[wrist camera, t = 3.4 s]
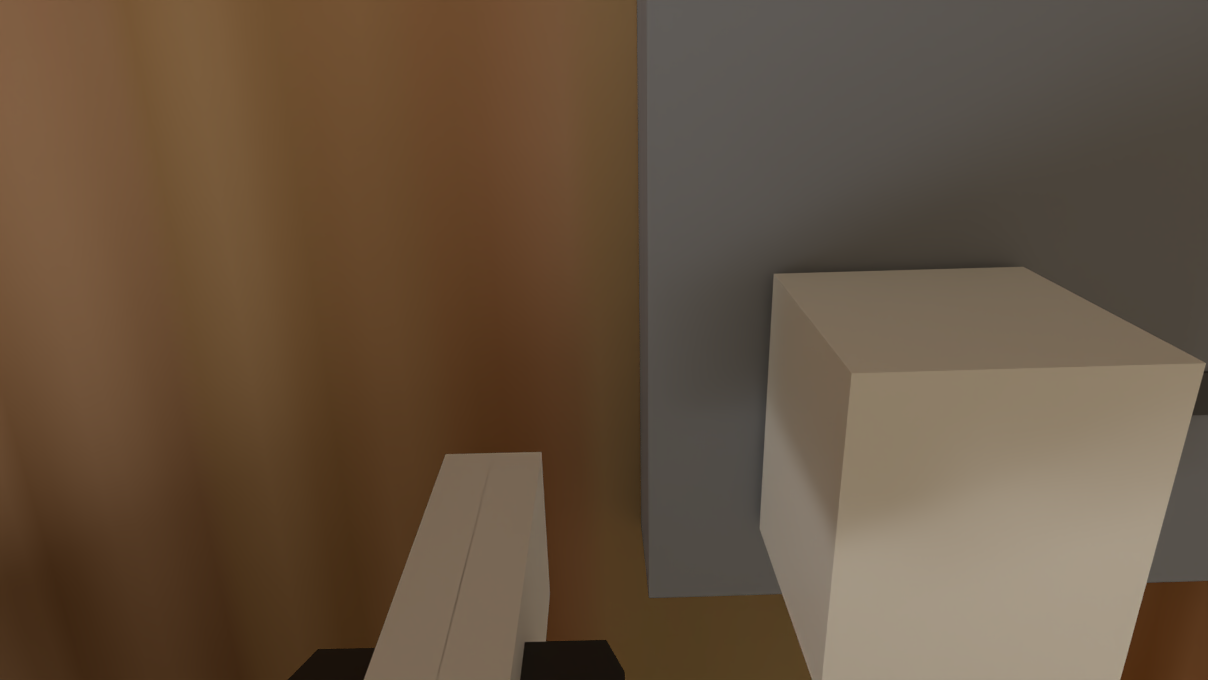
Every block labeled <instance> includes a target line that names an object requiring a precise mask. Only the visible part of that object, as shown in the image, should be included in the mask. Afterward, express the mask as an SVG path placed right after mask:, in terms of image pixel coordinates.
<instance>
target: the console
mask: <svg viewBox="0 0 1208 680" xmlns="http://www.w3.org/2000/svg"><path fill="white" fill-rule="evenodd" d="M637 61H638V186H639V310H640V434H641V528H642V537H643V546H644V556H645V565H646V575H647V584H648V593H649V598H669V597H701V596H733V595H765V594H782V592H781V589H780V586H779V583H778V580H777V578H776V575H775V572H774V569H773V566H772V563H771V560H770V557H769V554H768V552H767V549H766V546H765V543H764V540H763V537H762V534H761V531H760V511H761V493H762V475H763V457H764V439H765V421H766V403H767V385H768V367H769V349H770V331H771V313H772V295H773V277H774V274H780V273H816V272H851V271H887V270H923V269H959V268H995V267H1025V268H1027V269H1029V270H1030V271H1032V272H1034V273H1036V274H1038V275H1040V276H1042V277H1044V278H1046V279H1047V280H1049V281H1051V282H1053V283H1055V284H1057V285H1059V286H1061V287H1063V288H1065V289H1066V290H1068V291H1070V292H1072V293H1074V294H1076V295H1078V296H1080V297H1082V298H1084V299H1085V300H1087V301H1089V302H1091V303H1093V304H1095V305H1097V306H1099V307H1101V308H1102V309H1104V310H1106V311H1108V312H1110V313H1112V314H1114V315H1116V316H1118V317H1120V318H1121V319H1123V320H1125V321H1127V322H1129V323H1131V324H1133V325H1135V326H1137V327H1138V328H1140V329H1142V330H1144V331H1146V332H1148V333H1150V334H1152V335H1154V336H1156V337H1157V338H1159V339H1161V340H1163V341H1165V342H1167V343H1169V344H1171V345H1173V346H1175V347H1176V348H1178V349H1180V350H1182V351H1184V352H1186V353H1188V354H1190V355H1192V356H1193V357H1195V358H1197V359H1199V360H1201V361H1203V362H1205V363H1206V365H1205V369H1204V373H1203V377H1202V380H1201V384H1200V388H1199V391H1198V395H1197V399H1196V402H1195V406H1194V410H1193V413H1192V417H1191V421H1190V424H1189V428H1188V432H1187V435H1186V439H1185V443H1184V447H1183V450H1182V454H1181V458H1180V461H1179V465H1178V469H1177V472H1176V476H1175V480H1174V483H1173V487H1172V491H1171V494H1170V498H1169V502H1168V505H1167V509H1166V513H1165V517H1164V520H1163V524H1162V528H1161V531H1160V535H1159V539H1158V542H1157V546H1156V550H1155V553H1154V557H1153V561H1152V564H1151V568H1150V572H1149V576H1148V579H1147V583H1151V582H1183V581H1208V0H637Z"/></svg>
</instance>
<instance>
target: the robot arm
mask: <svg viewBox="0 0 1208 680" xmlns="http://www.w3.org/2000/svg"><path fill="white" fill-rule="evenodd" d="M549 600H550V585H549V569H548V552H547V535H546V519H545V502H544V485H543V469H542V452H517V453H474V454H445V457H444V460H443V463H442V466H441V468H440V471H439V474H438V477H437V479H436V482H435V485H434V488H433V490H432V493H431V496H430V499H429V501H428V504H427V507H426V510H425V512H424V515H423V518H422V521H421V523H420V526H419V529H418V532H417V534H416V537H415V540H414V543H413V545H412V548H411V551H410V554H409V556H408V559H407V562H406V565H405V567H404V570H403V573H402V576H401V578H400V581H399V584H398V587H397V589H396V592H395V595H394V598H393V600H392V603H391V606H390V609H389V612H388V614H387V617H386V620H385V623H384V625H383V628H382V631H381V634H380V636H379V639H378V642H377V645H376V647H375V648H355V649H318V650H317V651H316V652H315V653H314V654H313V655H312V656H311V657H310V658H309V659H308V660H307V661H306V662H305V663H304V664H303V665H302V666H301V667H300V668H299V669H298V670H297V671H296V672H295V673H294V674H293V675H292V676H291V677H290V678H289V679H288V680H625V674H624V670H623V669H622V667H621V665H620V663H619V662H618V660H617V658H616V656H615V655H614V653H613V651H612V649H611V648H610V646H609V644H608V642H607V641H606V640H588V641H546V634H547V623H548V611H549Z"/></svg>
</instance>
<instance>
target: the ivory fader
mask: <svg viewBox="0 0 1208 680" xmlns="http://www.w3.org/2000/svg"><path fill="white" fill-rule="evenodd" d="M1205 365H1206V363H1205V362H1203V361H1201V360H1199V359H1197V358H1195V357H1193V356H1192V355H1190V354H1188V353H1186V352H1184V351H1182V350H1180V349H1178V348H1176V347H1175V346H1173V345H1171V344H1169V343H1167V342H1165V341H1163V340H1161V339H1159V338H1157V337H1156V336H1154V335H1152V334H1150V333H1148V332H1146V331H1144V330H1142V329H1140V328H1138V327H1137V326H1135V325H1133V324H1131V323H1129V322H1127V321H1125V320H1123V319H1121V318H1120V317H1118V316H1116V315H1114V314H1112V313H1110V312H1108V311H1106V310H1104V309H1102V308H1101V307H1099V306H1097V305H1095V304H1093V303H1091V302H1089V301H1087V300H1085V299H1084V298H1082V297H1080V296H1078V295H1076V294H1074V293H1072V292H1070V291H1068V290H1066V289H1065V288H1063V287H1061V286H1059V285H1057V284H1055V283H1053V282H1051V281H1049V280H1047V279H1046V278H1044V277H1042V276H1040V275H1038V274H1036V273H1034V272H1032V271H1030V270H1029V269H1027V268H1025V267H995V268H959V269H923V270H887V271H851V272H816V273H780V274H774V277H773V295H772V313H771V331H770V349H769V367H768V385H767V403H766V421H765V439H764V457H763V475H762V493H761V511H760V531H761V534H762V537H763V540H764V543H765V546H766V549H767V552H768V554H769V557H770V560H771V563H772V566H773V569H774V572H775V575H776V578H777V580H778V583H779V586H780V589H781V592H782V595H783V598H784V601H785V603H786V606H787V609H788V612H789V615H790V618H791V621H792V624H793V627H794V629H795V632H796V635H797V638H798V641H799V644H800V647H801V650H802V652H803V655H804V658H805V661H806V664H807V667H808V670H809V673H810V675H811V678H812V680H1120V679H1121V675H1122V671H1123V668H1124V664H1125V660H1126V657H1127V653H1128V649H1129V646H1130V642H1131V638H1132V634H1133V631H1134V627H1135V623H1136V620H1137V616H1138V612H1139V609H1140V605H1141V601H1142V598H1143V594H1144V590H1145V587H1146V583H1147V579H1148V576H1149V572H1150V568H1151V564H1152V561H1153V557H1154V553H1155V550H1156V546H1157V542H1158V539H1159V535H1160V531H1161V528H1162V524H1163V520H1164V517H1165V513H1166V509H1167V505H1168V502H1169V498H1170V494H1171V491H1172V487H1173V483H1174V480H1175V476H1176V472H1177V469H1178V465H1179V461H1180V458H1181V454H1182V450H1183V447H1184V443H1185V439H1186V435H1187V432H1188V428H1189V424H1190V421H1191V417H1192V413H1193V410H1194V406H1195V402H1196V399H1197V395H1198V391H1199V388H1200V384H1201V380H1202V377H1203V373H1204V369H1205Z"/></svg>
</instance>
